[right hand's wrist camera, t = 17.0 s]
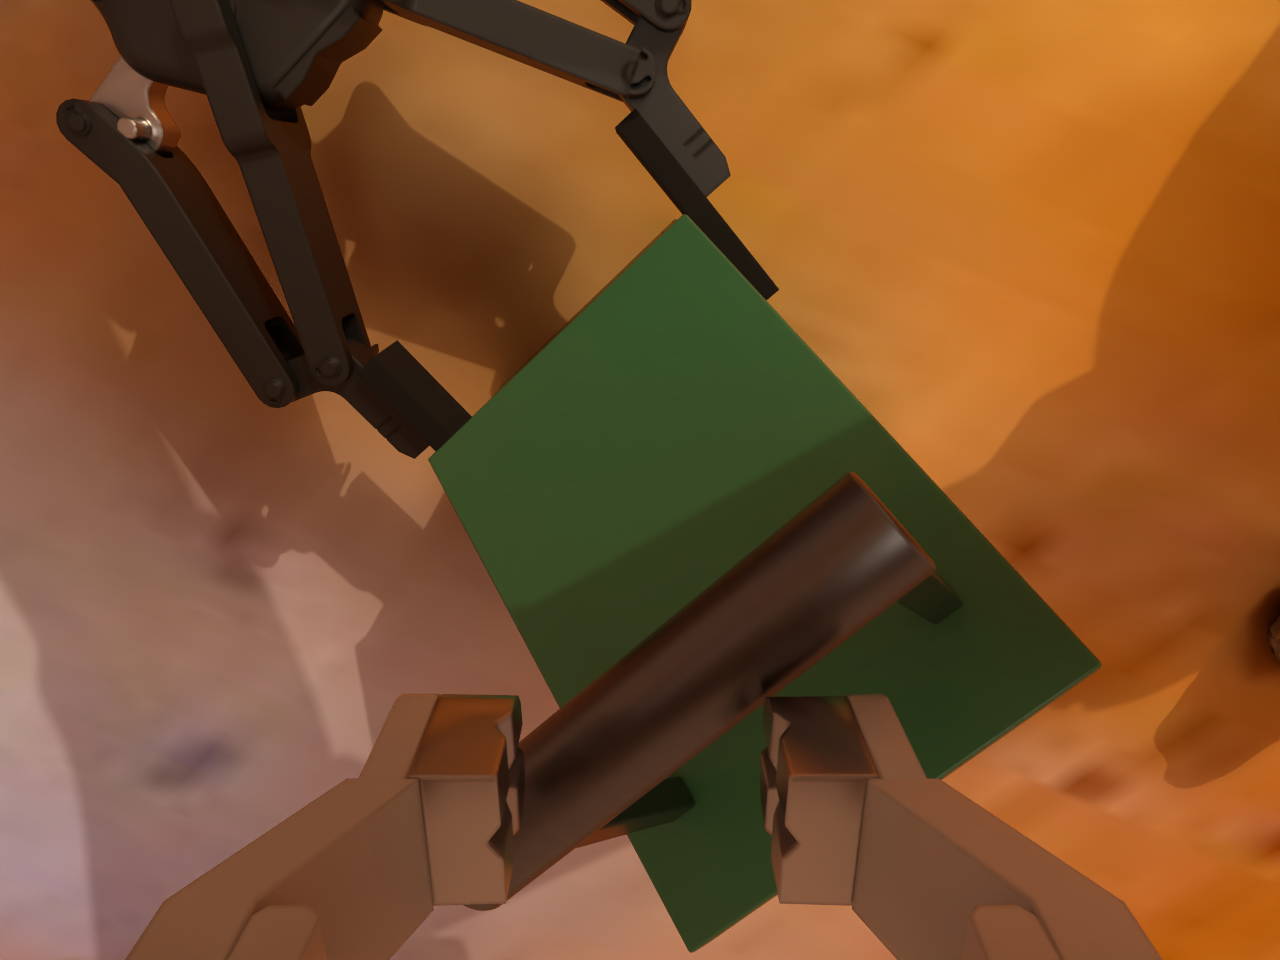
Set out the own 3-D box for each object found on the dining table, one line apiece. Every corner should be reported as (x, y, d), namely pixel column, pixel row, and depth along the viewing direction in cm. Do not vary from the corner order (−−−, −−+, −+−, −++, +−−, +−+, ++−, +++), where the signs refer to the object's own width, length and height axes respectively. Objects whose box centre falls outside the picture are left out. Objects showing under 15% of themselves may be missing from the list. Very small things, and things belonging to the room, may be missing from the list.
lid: (1102, 667, 15) (1122, 630, 8) (707, 943, 17) (453, 1102, 10) (699, 230, 22) (519, 2, 15) (448, 467, 24) (187, 366, 17)
